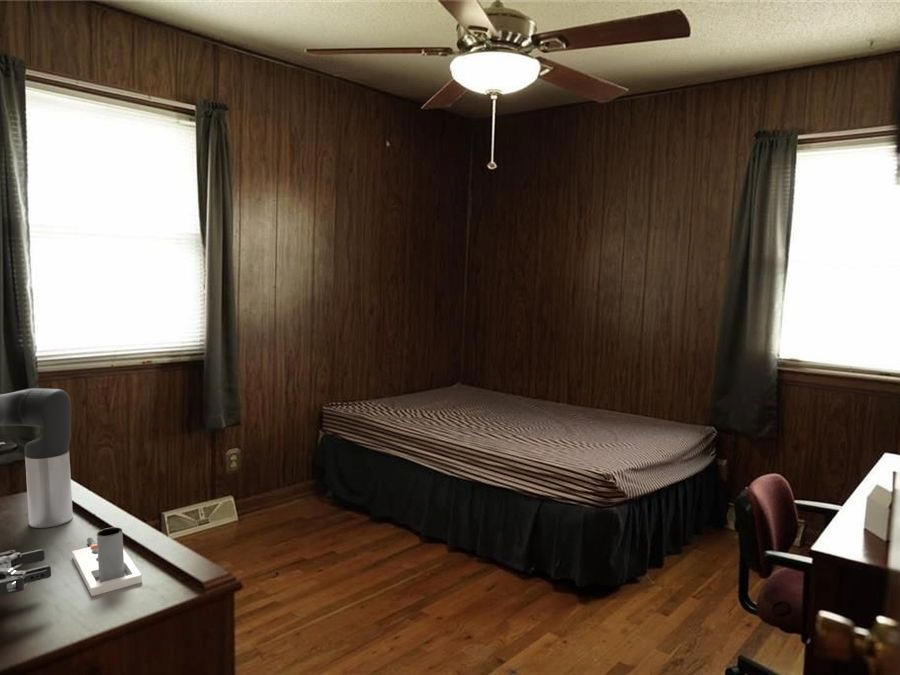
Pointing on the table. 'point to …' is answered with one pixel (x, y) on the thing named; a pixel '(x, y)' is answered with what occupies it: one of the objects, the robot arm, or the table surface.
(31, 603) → the table surface
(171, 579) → the table surface
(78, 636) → the table surface
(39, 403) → the robot arm
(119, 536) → the planter
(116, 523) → the table surface
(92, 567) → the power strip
